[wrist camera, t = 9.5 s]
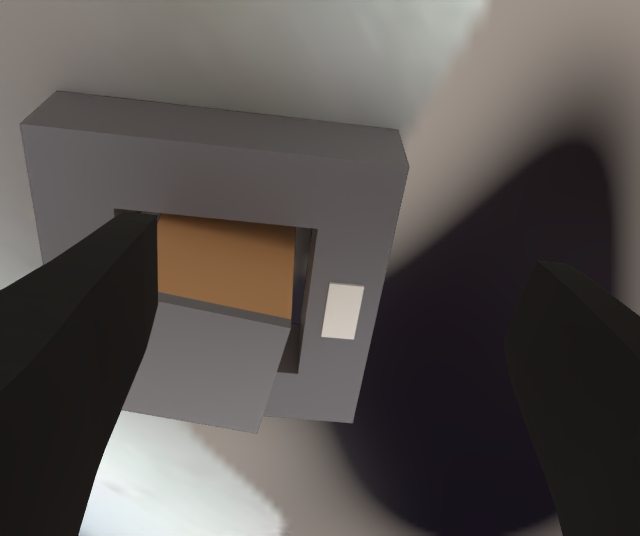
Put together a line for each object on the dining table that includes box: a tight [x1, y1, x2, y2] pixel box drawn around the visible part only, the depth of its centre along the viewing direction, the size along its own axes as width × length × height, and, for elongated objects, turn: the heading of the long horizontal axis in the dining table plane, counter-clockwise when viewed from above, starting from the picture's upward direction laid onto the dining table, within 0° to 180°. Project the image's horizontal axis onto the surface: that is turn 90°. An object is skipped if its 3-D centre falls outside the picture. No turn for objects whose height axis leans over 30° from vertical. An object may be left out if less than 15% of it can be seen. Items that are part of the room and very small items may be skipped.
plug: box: [122, 213, 296, 434], centre depth 20 cm, size 4×4×7 cm
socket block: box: [20, 91, 409, 423], centre depth 22 cm, size 12×12×3 cm
